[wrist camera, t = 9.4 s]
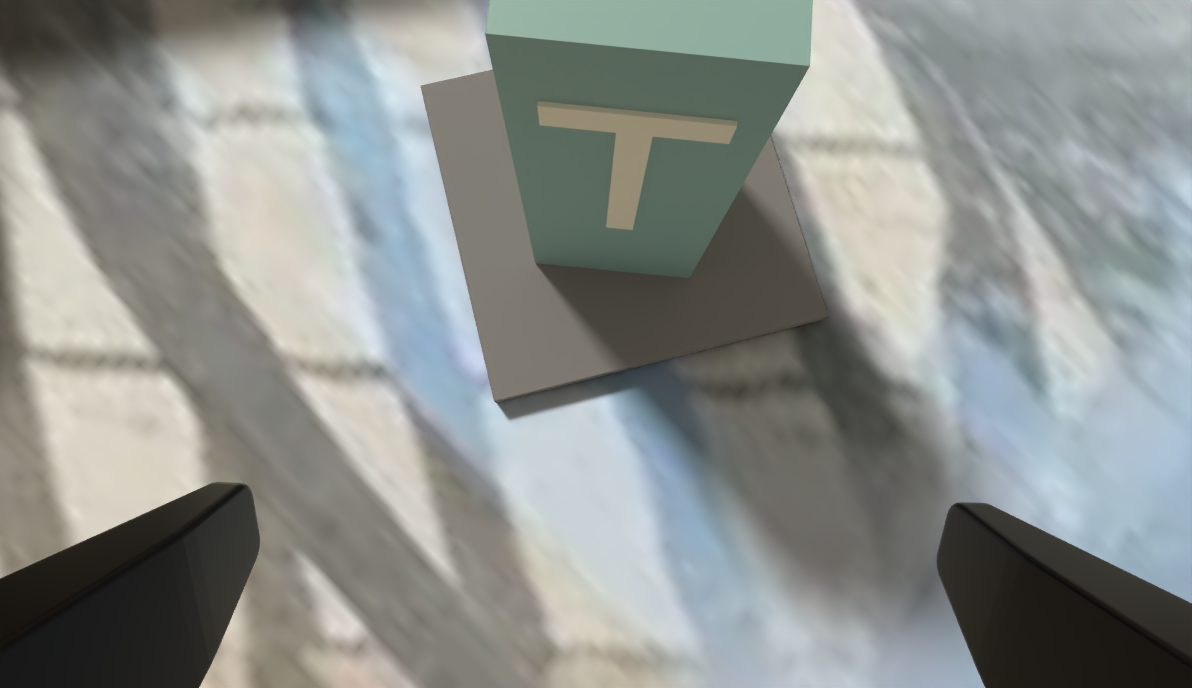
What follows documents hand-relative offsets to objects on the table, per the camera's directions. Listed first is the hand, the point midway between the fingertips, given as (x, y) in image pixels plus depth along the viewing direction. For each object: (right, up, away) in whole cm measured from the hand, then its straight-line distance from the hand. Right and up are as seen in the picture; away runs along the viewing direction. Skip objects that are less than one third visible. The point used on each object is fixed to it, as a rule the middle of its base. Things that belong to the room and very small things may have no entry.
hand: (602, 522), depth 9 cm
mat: (+1, +7, +15) cm, 16 cm away
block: (+1, +7, +14) cm, 16 cm away
